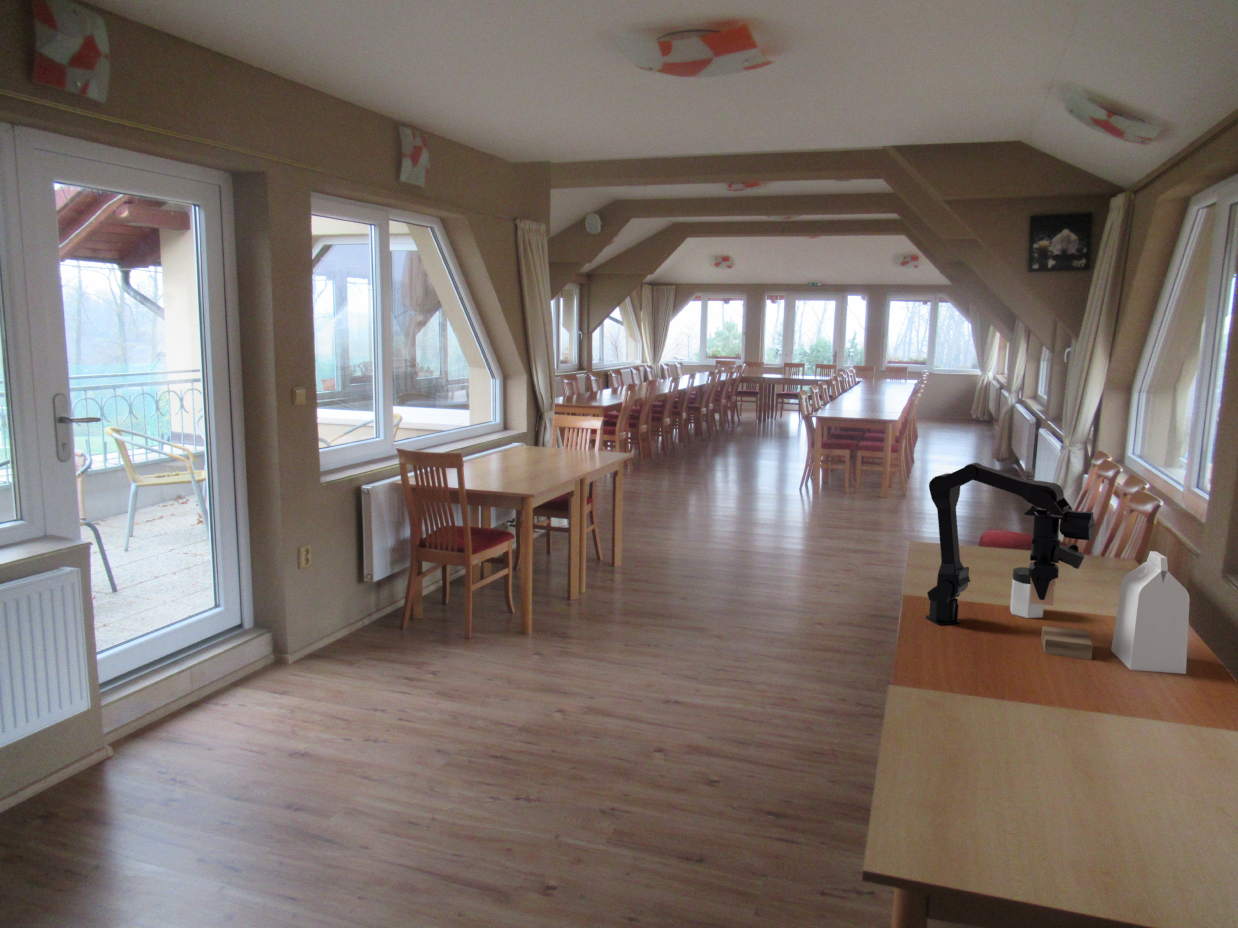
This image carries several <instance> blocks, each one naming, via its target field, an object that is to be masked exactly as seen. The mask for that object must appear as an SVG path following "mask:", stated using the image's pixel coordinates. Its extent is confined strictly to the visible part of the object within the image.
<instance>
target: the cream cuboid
mask: <svg viewBox="0 0 1238 928" xmlns="http://www.w3.org/2000/svg"><path fill="white" fill-rule="evenodd" d="M1030 584H1031V597H1030V603H1033V604H1042V605H1044V606H1054V595H1055V593H1054V592H1055V587H1056V579H1053V580H1051V581H1050V583H1049V586H1048V589H1047V593H1046V596H1045V599H1044V600H1040V599H1039V597H1038V595H1037V592H1036V589H1035V587H1034V584H1033V582H1032V579H1031V581H1030Z"/></svg>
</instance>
